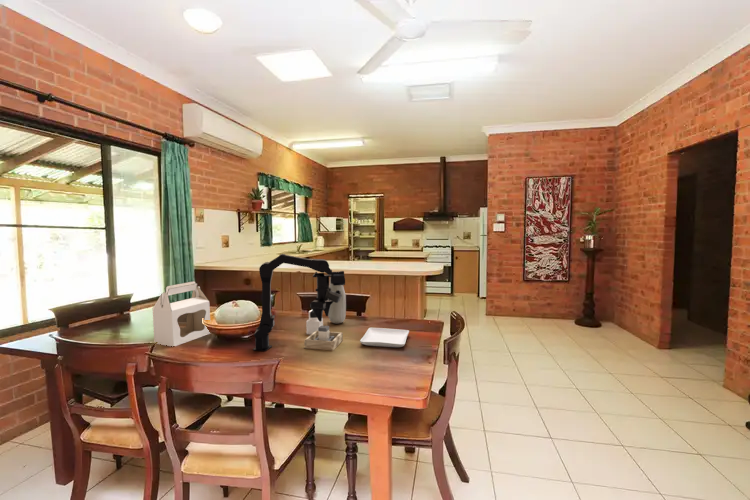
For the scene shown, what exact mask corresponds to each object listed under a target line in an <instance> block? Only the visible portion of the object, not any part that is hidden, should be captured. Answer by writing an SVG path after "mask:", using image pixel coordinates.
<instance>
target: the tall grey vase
mask: <svg viewBox="0 0 750 500" xmlns="http://www.w3.org/2000/svg"><path fill="white" fill-rule="evenodd" d="M329 287H331V291H333V292H334V291H335V292H336V291H337V290H339V291H341V294H342V297H341V299H340V301H339V302H338V303H335V302H333V303H332V304H331V306H330V310H329V315H328V316H327V317H328V319H329V321H330V322H331V323H332V324H335V325H336V324H337V325H338V324H341V323H343V322H344V321H345V319H346V314H347V294H346V292H345V287H344V285H337V286H333V284H331V283H330V282H329Z"/></svg>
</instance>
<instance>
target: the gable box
mask: <svg viewBox="0 0 750 500" xmlns="http://www.w3.org/2000/svg"><path fill="white" fill-rule="evenodd" d="M164 289H165V290H164V292H162V293H160V296H159V297H158V299H157V301H156V302H155V304H154V306H153V307H152V322H153V325H152V327H153V340H154V341H153V343H154V342H158V343H157V344H156V345H160V344H161V346H166V345H167V346H166V347H171V346H172V347H173V346H175V347H178V346H180V345H182V344H185V343H188V342H191V341H193V340H194V341H195V340H196V339H200V338H202V337H205V336H207V335H210V334H211V333H210V332H209V330H208V329H207V327H206V326H205V325H203V324H202V318H204V320H210V321H211V310H210V309H211V308H210V307H211V305H210V300H209V299H208V297H207V296H206V295H205V293H204V292H203V290H201V287H200V285H199V286H198V283H196V281H193V280H192V281H188V282H181V283H177V284H171V285H167V286H166V287H165V288H164ZM186 292H192V294H191V297H190V298H185V299H182V300H177V301H173V302H171V301H170V298H169V296H172V295H176V294H177V295H178V294H182V293H186ZM182 315H186V316H185V323H186V325H185V326H184V327H180V326H179V323H178V319H179V317H181V316H182Z"/></svg>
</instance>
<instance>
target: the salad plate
mask: <svg viewBox="0 0 750 500" xmlns="http://www.w3.org/2000/svg"><path fill="white" fill-rule="evenodd" d="M409 333H410V330H408V329H401V328H400V329H398V328H388V327H387V328H385V327H384V328H383V327H368V329H367V330H366V332H365V333H364V334H363V336H362V337H361V339H360V340H359V343H360V344H362V345H365V346H370V347H382V348H402V347H404V346H405V344H406V341H407V338H408V335H409Z"/></svg>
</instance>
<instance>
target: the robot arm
mask: <svg viewBox="0 0 750 500" xmlns="http://www.w3.org/2000/svg"><path fill="white" fill-rule="evenodd" d="M282 264H287V265H292V266H293V265H294V266H299V267H303V268H304V267H305V268H309V269H312V270H313V271H315V272H314V273H313V274H312V278H316V288H315V292H316V297H315V299H314V300H313V301H311V302H310V303H309V307H310V308H311V310H313V311H314V312H315V314H316V316H317V318H318V320H319V321H322V318H323V315H325V317H328V315H329V310H330V306H331V304H332V303H333V302H335V303H338V302H339V301H340V299H341V297H342V294H341V291H339V290H337V291H336V292H335V291H334V292H333V291H331V287H329V285H330V283H331V284H333V286H337V285H343V286H345V285H346V278H345V277H346V276H345V271H344V270H340V271H339V270H338V271H333V270H332V269H331V268H330V264H329V262H328V260H326V259H324V258H305V257H299V256H294V255H290V254H289V255H288V254H285V253H280V254H279V256H276V257H275V258H274V259H272V260H271V261H265V262H262V264H261V265H260V266H259V269H258V271H259V276H260V280H261V281H260V282H261V316H260V320H259V326H258V327H257V328H256V330H255V332H254V334H253V336H254V339H255V340H254V341H255V347H254V348H252V351H258V352H267V351H268V350H269V349H270V348H272V347H273V345H272V344H271V345H270V333H271V332H272V330H273V328H274V327H275V323H276V322H275V317H276V315H275V314H274V315H273V314H272V312H271V311H272V309H271V308H272V304H271V303H272V279H273V276H274V275H273V274H274V271H275V269H277V268H279V267H280V266H281V265H282ZM323 312H324V314H323Z"/></svg>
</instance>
